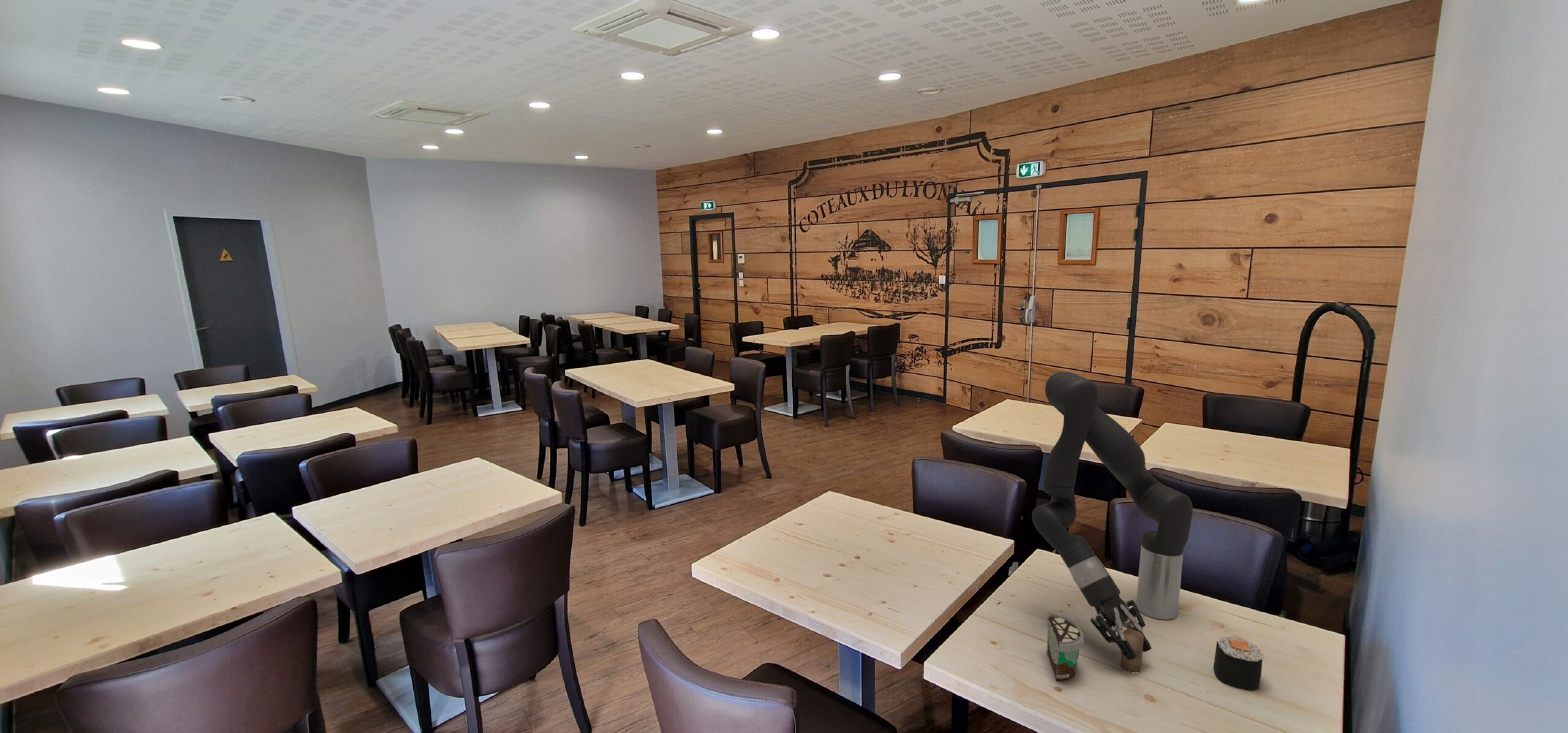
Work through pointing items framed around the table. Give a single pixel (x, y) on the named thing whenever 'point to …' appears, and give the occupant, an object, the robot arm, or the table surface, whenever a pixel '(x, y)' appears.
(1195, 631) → the table surface
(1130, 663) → the walnut cylinder
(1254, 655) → the sushi
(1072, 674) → the food container
